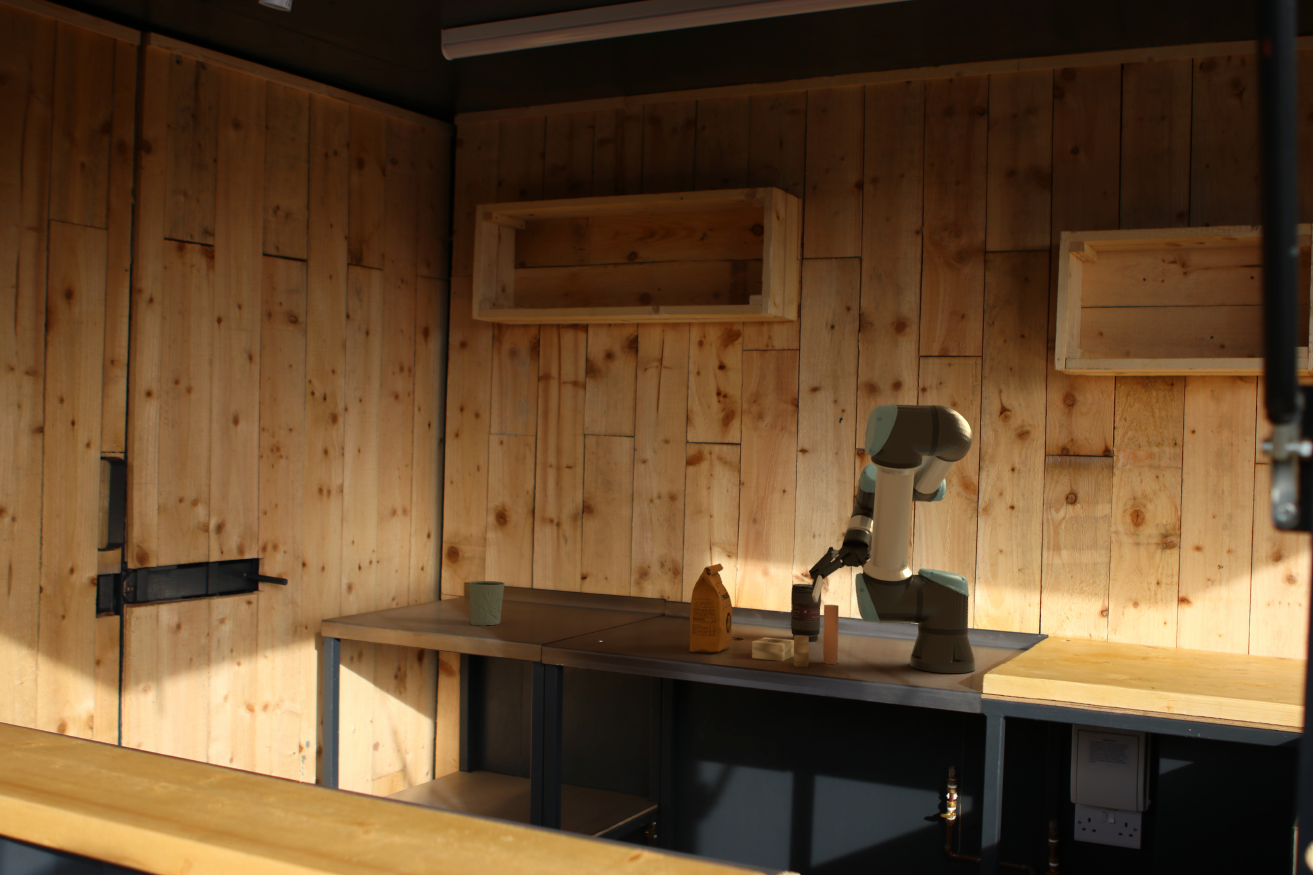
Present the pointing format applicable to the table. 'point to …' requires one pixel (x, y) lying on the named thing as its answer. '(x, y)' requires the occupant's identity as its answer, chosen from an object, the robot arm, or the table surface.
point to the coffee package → (710, 613)
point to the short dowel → (801, 651)
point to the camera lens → (805, 612)
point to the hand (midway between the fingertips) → (840, 600)
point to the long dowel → (830, 634)
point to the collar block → (773, 649)
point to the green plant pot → (486, 602)
